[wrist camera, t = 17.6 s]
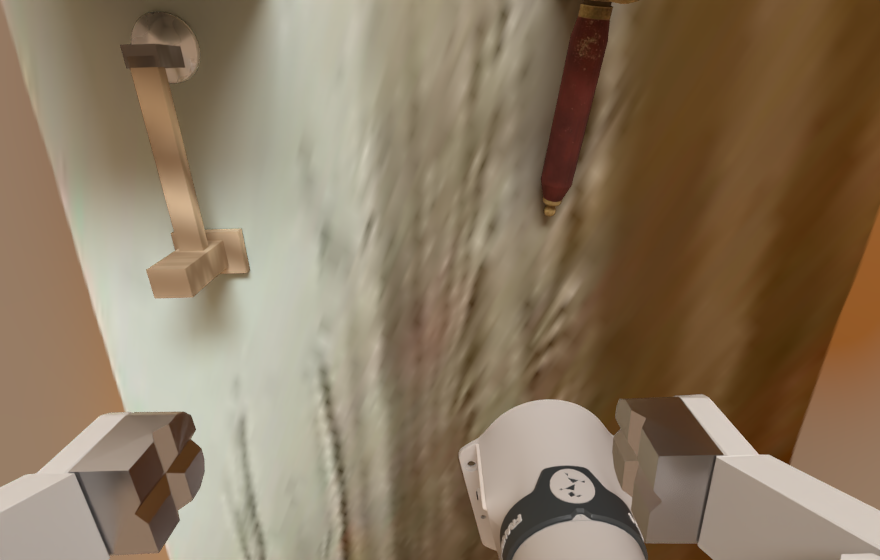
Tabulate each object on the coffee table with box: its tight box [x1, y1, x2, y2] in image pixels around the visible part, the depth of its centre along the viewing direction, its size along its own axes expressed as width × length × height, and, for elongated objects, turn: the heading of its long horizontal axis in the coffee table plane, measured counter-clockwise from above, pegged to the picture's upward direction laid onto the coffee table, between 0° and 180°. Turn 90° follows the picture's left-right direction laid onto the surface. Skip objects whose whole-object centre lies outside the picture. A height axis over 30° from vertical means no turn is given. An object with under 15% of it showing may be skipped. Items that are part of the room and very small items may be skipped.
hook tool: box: [120, 44, 250, 298], centre depth 37 cm, size 19×6×8 cm, turn 2°
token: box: [131, 11, 200, 83], centre depth 37 cm, size 5×5×1 cm
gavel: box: [541, 0, 639, 216], centre depth 35 cm, size 21×5×10 cm, turn 176°
